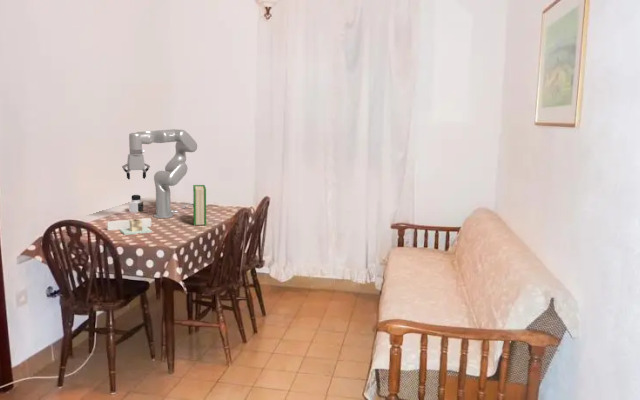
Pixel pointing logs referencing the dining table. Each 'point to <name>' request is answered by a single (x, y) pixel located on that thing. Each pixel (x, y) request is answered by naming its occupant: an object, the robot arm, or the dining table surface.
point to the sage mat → (128, 231)
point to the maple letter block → (135, 225)
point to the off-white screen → (126, 224)
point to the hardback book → (199, 204)
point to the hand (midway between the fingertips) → (136, 178)
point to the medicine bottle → (136, 204)
